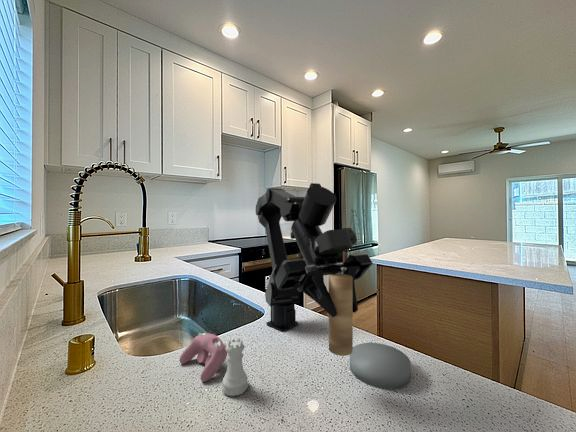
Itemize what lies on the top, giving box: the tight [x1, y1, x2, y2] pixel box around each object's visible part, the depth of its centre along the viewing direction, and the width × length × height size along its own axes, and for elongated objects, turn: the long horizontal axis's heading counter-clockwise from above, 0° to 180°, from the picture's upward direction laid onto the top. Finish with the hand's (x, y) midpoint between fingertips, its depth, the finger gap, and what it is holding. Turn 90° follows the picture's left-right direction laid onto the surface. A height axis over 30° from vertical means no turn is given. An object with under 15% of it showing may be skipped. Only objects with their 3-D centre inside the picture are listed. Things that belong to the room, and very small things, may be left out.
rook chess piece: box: [221, 338, 249, 397], centre depth 43 cm, size 4×4×8 cm
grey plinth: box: [349, 342, 412, 390], centre depth 49 cm, size 11×11×2 cm
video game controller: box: [179, 332, 228, 383], centre depth 50 cm, size 10×5×7 cm, turn 48°
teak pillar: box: [328, 274, 354, 357], centre depth 43 cm, size 4×4×12 cm
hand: (345, 313), depth 42 cm, fingers closed on teak pillar, 4 cm apart
